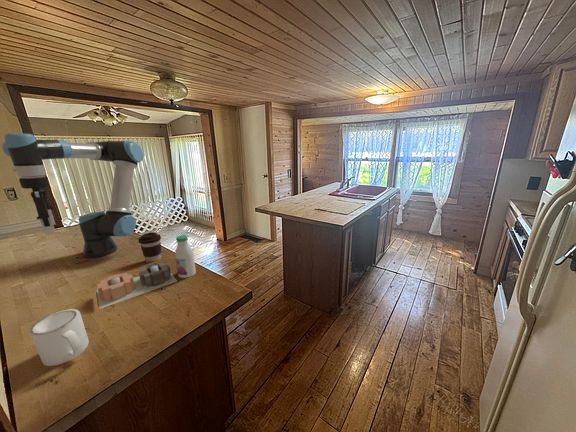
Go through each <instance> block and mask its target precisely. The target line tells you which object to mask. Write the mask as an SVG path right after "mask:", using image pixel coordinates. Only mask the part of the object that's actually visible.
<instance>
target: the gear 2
mask: <svg viewBox="0 0 576 432" xmlns="http://www.w3.org/2000/svg"><path fill="white" fill-rule="evenodd" d="M152 266H158V270H159V271H156V272H152V273H151V270H150V267H152ZM171 274H172V272H171V267H170V265H169V263H164V261H162V262H159V263H157V262H156V263H155V262H154V263H151V264H148V265H146V267H142V268H140V271H138V276H139V277H140V282H141V284H142V286H144V285H146V286H147V287H150V286H152V285H154V286H157V285H160V284H163V283H165V281H168V280H170V277H171Z"/></svg>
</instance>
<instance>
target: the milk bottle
mask: <svg viewBox="0 0 576 432" xmlns="http://www.w3.org/2000/svg"><path fill="white" fill-rule="evenodd" d="M175 239H176V240H175V241H176V244H177V246H176V249H175V251H174V256H175V257H174V258H175V265H176V270H177V272H176V273H177V276H178V277H179V278H181V279H184V278H185V279H186V278H191V277H192V276H194V275H195V274H196V272H197V270H196V264H195V263H196V262H195V254H194V252H193V249H192V247H191V246H190V244H189V242H188V241H189V240H188V239H189V238H188V235H187V234H181V235H177V236H176V238H175Z"/></svg>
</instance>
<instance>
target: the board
mask: <svg viewBox="0 0 576 432" xmlns="http://www.w3.org/2000/svg"><path fill="white" fill-rule="evenodd" d="M150 270H151V273H152V272H156V271H159V270H158V266H152V267H150ZM133 280H134V284H135V289H132V290H133V292H132V293H129V294H127V295H126V296H125V297H122V298H120V299H117V300H114V299H112V300H109V301H106V302H105V299H102V300H101V299H100V295H99V292H98V288H96V296H97V303H98V309H99V310H101V309H103V308H107V307H109V306H112V305H114V304H117V303H121V302H124V301H126V300H128V299H132V298H134V297H137V296H140V295H143V294H146V293H148V292H152V291H153V290H157V289H160V288H162V287H166V286H169V285H170V284H174V283H177V282H178V280H177V279H176V278H175V276H174V275H173V274H172V273H171V277H170V280H168V281H165V283H163V284H160V285H157V286H154V285H152V286H150V287H147V286H146V285H144V286H142V284H141V282H140V277H139V275H138V276H135V277H133ZM110 281H111V285H114V284H117V283H120V278H119V277H114V278H112V279H111V280H110ZM109 290H110V289H109ZM126 293H127V292H126ZM110 294H111V293H110ZM111 298H112V297H111Z"/></svg>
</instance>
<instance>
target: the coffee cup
mask: <svg viewBox="0 0 576 432" xmlns="http://www.w3.org/2000/svg"><path fill="white" fill-rule="evenodd" d="M161 239H162V236H161V235H160V234H158V233H157V232H155V231H154V232H152V231H151V232H146V233H143V234H142V235H141V237H139V238H138V239H137V240H138V243H139V244H140V248H141V250H142V251H141V252H142V254H143V257H144V261H145V263H151V262H156V261H158V260H160V259H162V245H161V244H162V243H161Z"/></svg>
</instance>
